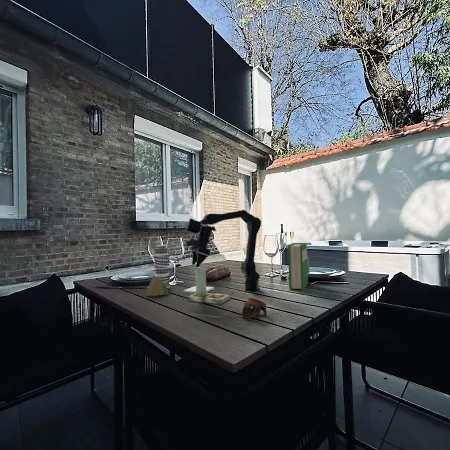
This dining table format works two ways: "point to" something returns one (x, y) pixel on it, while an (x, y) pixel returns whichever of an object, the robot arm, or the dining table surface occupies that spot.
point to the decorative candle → (162, 264)
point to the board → (193, 289)
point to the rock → (156, 287)
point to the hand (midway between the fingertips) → (194, 265)
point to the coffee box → (308, 262)
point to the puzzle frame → (210, 298)
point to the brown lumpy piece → (253, 309)
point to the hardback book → (297, 265)
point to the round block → (201, 283)
